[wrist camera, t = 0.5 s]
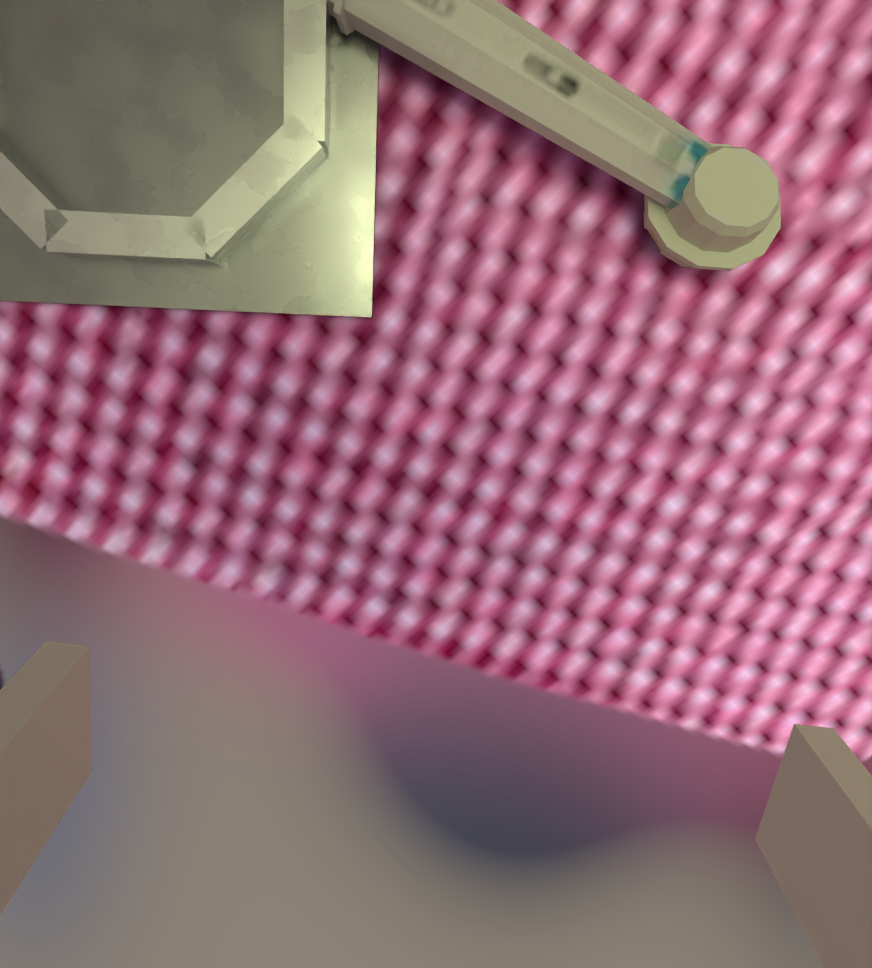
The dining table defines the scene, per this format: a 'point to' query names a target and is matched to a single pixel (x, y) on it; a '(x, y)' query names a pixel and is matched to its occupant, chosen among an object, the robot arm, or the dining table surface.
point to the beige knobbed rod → (587, 122)
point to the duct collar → (187, 156)
